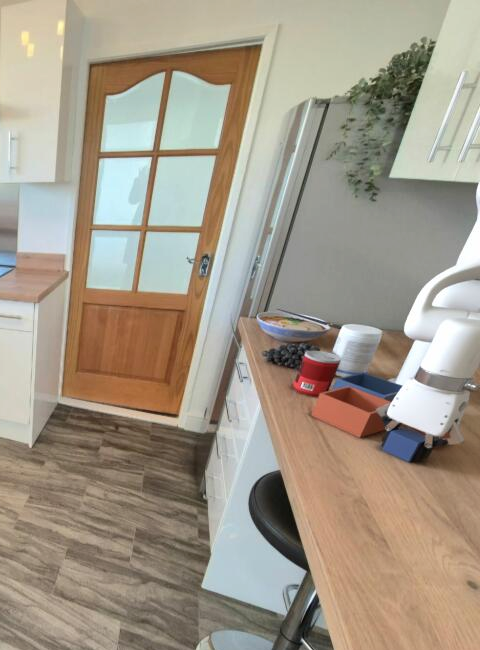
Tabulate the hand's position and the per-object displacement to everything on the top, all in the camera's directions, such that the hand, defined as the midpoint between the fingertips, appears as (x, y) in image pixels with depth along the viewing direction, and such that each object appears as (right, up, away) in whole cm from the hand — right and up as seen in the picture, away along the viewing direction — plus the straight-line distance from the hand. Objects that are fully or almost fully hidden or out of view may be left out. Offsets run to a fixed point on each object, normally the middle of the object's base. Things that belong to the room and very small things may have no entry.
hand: (402, 451), depth 95 cm
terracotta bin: (-1, +6, +12) cm, 14 cm away
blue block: (0, 0, 0) cm, 0 cm away
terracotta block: (+11, +2, +5) cm, 12 cm away
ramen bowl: (+23, +31, +65) cm, 76 cm away
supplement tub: (+20, +18, +38) cm, 47 cm away
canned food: (+1, +13, +28) cm, 30 cm away
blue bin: (+10, +9, +20) cm, 24 cm away
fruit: (+7, +21, +44) cm, 49 cm away
